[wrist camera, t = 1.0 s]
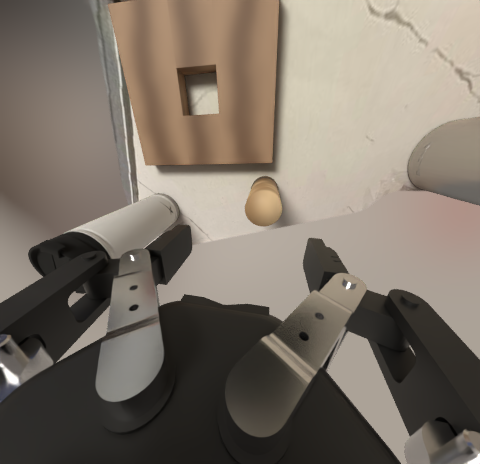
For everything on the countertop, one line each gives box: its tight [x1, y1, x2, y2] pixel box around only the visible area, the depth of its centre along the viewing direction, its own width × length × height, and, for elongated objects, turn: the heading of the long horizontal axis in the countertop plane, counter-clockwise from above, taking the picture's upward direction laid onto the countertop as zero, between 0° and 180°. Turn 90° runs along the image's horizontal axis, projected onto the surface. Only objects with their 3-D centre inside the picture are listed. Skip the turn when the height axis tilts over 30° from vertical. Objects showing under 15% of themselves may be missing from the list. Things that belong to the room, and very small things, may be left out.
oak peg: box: [245, 176, 282, 226], centre depth 25 cm, size 4×4×12 cm
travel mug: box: [28, 193, 179, 294], centre depth 26 cm, size 6×7×20 cm
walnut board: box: [108, 0, 279, 165], centre depth 25 cm, size 20×18×2 cm
